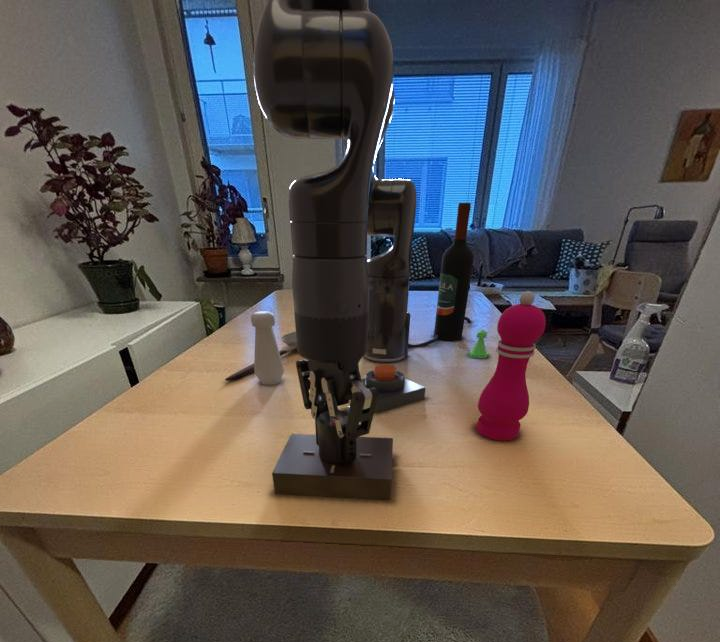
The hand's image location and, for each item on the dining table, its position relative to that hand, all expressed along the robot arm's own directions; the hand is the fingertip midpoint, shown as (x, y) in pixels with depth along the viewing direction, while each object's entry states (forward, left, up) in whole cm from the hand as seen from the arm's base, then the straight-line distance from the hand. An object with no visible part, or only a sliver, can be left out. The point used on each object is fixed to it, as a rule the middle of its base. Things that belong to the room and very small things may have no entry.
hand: (335, 452), depth 49 cm
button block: (-21, -17, -3) cm, 27 cm away
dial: (0, 0, 0) cm, 0 cm away
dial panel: (0, 0, -3) cm, 3 cm away
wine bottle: (-61, -40, -4) cm, 73 cm away
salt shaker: (-7, -36, -4) cm, 37 cm away
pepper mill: (-27, +4, -4) cm, 28 cm away
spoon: (-14, -48, -4) cm, 50 cm away
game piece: (-55, -24, -4) cm, 60 cm away
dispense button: (-21, -17, 0) cm, 27 cm away
